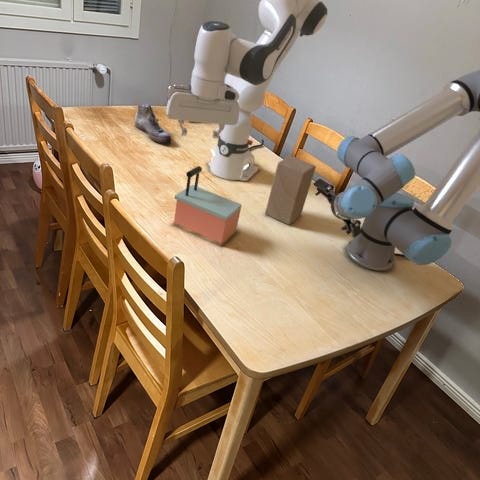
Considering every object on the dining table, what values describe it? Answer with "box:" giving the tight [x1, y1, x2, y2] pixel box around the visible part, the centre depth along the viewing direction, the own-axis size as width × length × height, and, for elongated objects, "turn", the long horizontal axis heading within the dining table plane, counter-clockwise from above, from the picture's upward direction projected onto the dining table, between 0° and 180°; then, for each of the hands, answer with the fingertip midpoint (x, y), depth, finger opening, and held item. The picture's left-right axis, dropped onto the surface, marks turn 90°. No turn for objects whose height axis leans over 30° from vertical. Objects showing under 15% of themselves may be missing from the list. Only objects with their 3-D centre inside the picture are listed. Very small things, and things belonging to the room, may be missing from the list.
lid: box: [174, 165, 243, 220], centre depth 133 cm, size 18×10×9 cm, turn 64°
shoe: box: [134, 102, 172, 145], centre depth 194 cm, size 25×11×12 cm, turn 30°
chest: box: [173, 200, 242, 247], centre depth 138 cm, size 17×10×9 cm, turn 64°
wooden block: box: [264, 155, 317, 226], centre depth 152 cm, size 10×10×20 cm
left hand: (199, 136), depth 127 cm, fingers open, 8 cm apart
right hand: (332, 209), depth 139 cm, fingers open, 13 cm apart
